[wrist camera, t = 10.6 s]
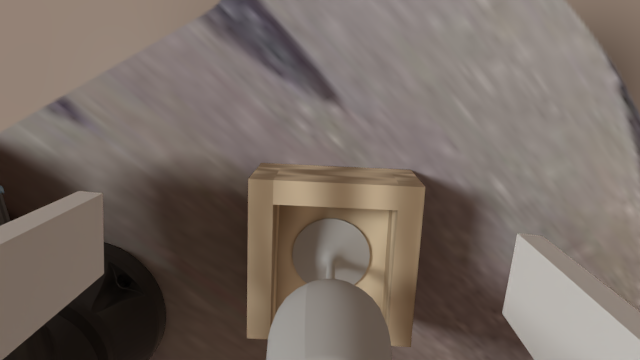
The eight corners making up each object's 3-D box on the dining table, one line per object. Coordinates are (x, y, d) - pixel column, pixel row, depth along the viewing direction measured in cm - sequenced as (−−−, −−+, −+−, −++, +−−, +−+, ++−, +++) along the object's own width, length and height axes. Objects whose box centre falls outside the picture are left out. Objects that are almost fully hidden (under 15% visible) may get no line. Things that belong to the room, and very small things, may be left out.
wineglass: (308, 302, 44) (286, 500, 24) (277, 232, 43) (226, 378, 22) (383, 277, 44) (426, 458, 23) (354, 204, 42) (373, 328, 22)
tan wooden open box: (259, 300, 47) (246, 338, 40) (261, 163, 44) (248, 178, 37) (398, 307, 46) (410, 346, 40) (410, 169, 43) (425, 187, 36)
